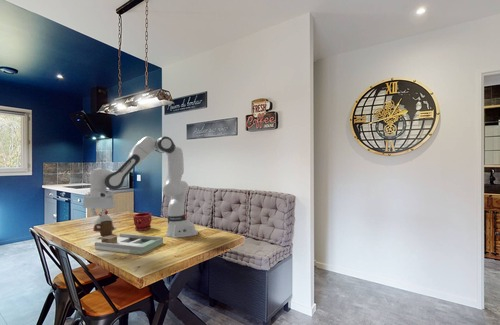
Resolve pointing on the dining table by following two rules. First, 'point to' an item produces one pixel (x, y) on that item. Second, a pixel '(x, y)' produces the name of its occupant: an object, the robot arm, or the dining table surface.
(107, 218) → the kitchen timer
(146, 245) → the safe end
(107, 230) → the mug
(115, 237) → the block
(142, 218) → the plant pot
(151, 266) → the dining table surface
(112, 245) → the white board with recesses
